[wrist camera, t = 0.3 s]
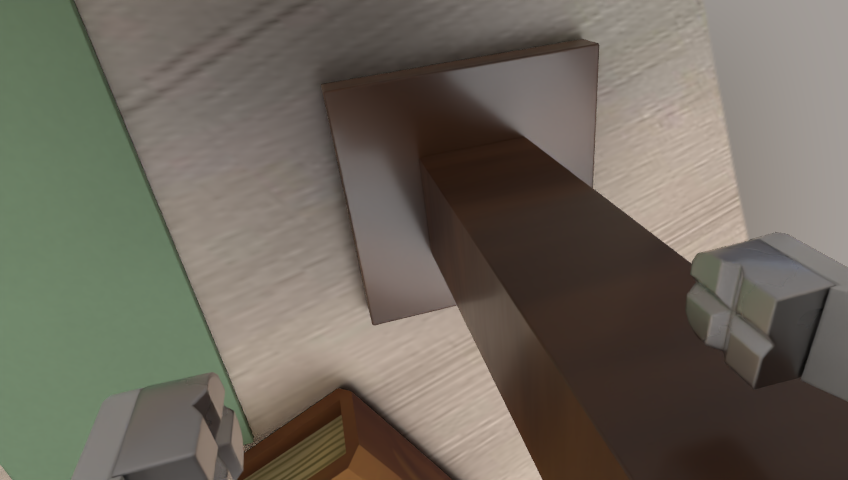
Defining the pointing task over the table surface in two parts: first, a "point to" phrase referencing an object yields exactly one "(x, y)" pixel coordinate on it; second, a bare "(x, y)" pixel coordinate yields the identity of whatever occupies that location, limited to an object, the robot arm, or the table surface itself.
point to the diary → (338, 447)
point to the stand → (555, 275)
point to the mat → (79, 252)
